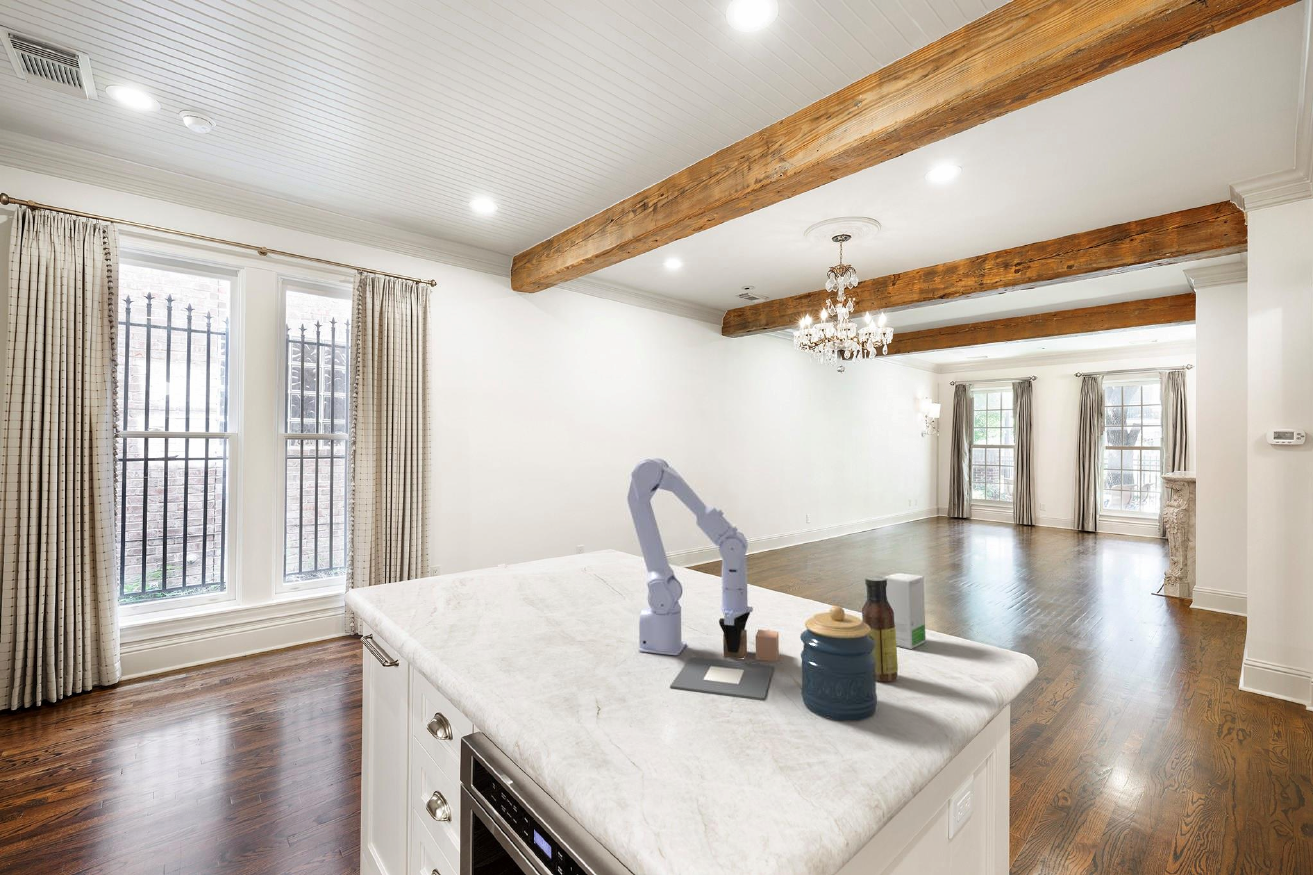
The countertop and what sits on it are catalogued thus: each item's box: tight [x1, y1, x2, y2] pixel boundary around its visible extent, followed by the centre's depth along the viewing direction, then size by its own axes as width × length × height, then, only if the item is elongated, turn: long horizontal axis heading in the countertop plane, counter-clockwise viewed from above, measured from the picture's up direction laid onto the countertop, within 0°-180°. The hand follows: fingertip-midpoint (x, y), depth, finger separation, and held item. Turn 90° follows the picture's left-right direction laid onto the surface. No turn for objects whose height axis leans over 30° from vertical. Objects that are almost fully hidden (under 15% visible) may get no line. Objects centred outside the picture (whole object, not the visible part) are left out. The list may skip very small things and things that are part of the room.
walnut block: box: [722, 629, 748, 659], centre depth 124 cm, size 4×4×5 cm
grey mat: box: [669, 655, 775, 701], centre depth 112 cm, size 18×16×1 cm
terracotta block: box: [755, 629, 780, 662], centre depth 123 cm, size 4×4×5 cm
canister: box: [799, 605, 878, 722], centre depth 99 cm, size 13×13×18 cm
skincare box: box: [884, 572, 927, 650], centre depth 131 cm, size 8×7×16 cm
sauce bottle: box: [861, 575, 899, 683], centre depth 111 cm, size 7×6×20 cm
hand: (735, 647), depth 124 cm, fingers closed on walnut block, 4 cm apart
